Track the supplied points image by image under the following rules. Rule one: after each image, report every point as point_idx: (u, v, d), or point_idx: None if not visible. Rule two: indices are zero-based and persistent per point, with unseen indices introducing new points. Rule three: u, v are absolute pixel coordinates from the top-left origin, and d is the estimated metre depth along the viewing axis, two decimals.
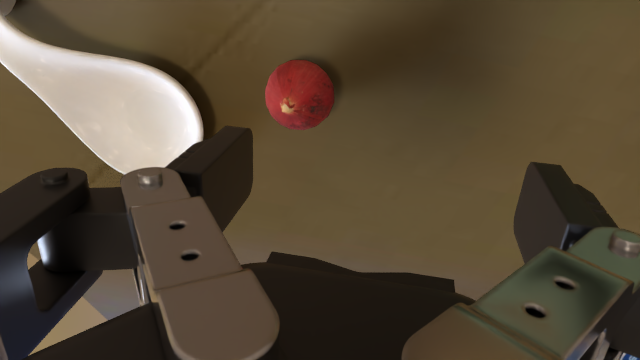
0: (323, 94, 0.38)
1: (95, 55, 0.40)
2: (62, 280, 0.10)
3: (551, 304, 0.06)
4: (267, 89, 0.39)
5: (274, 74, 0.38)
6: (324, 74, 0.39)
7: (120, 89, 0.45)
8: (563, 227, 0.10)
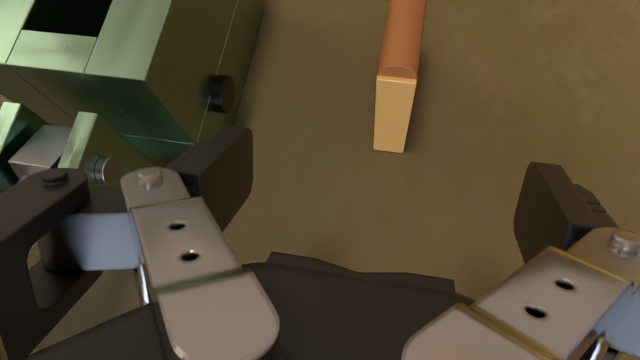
0: None
1: None
2: (62, 280, 0.10)
3: (551, 304, 0.06)
4: None
5: None
6: None
7: None
8: (563, 227, 0.10)
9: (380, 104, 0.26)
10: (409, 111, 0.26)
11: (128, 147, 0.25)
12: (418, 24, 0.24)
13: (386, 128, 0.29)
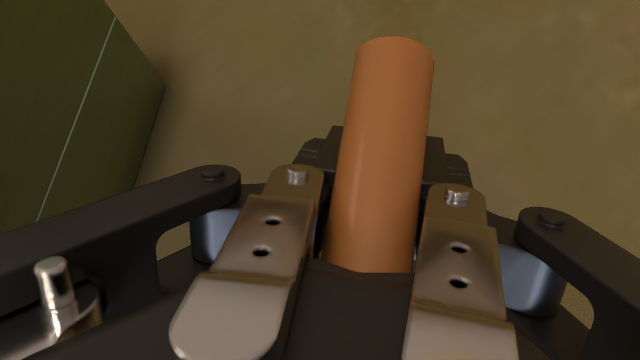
0: None
1: None
2: (196, 269, 0.11)
3: (464, 271, 0.07)
4: None
5: None
6: None
7: None
8: None
9: None
10: None
11: None
12: (406, 213, 0.10)
13: None
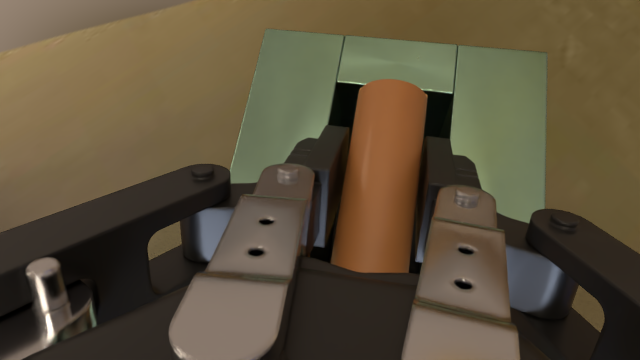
0: None
1: None
2: (188, 268, 0.11)
3: (469, 272, 0.07)
4: None
5: None
6: None
7: None
8: None
9: None
10: None
11: None
12: (401, 235, 0.12)
13: None
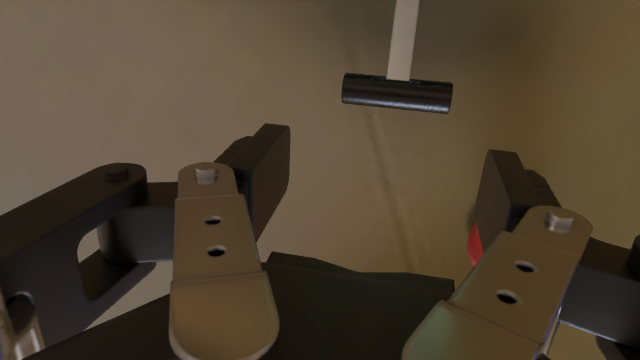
0: None
1: None
2: (114, 271, 0.10)
3: (519, 288, 0.07)
4: None
5: (474, 262, 0.34)
6: None
7: None
8: (508, 207, 0.11)
9: None
10: None
11: None
12: None
13: None
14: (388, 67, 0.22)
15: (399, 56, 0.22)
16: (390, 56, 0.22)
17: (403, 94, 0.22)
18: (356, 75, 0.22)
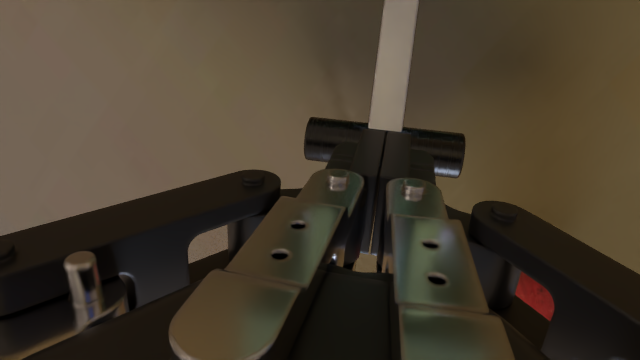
0: None
1: None
2: None
3: (440, 267, 0.07)
4: None
5: None
6: (525, 277, 0.26)
7: None
8: None
9: None
10: None
11: None
12: None
13: None
14: (371, 111, 0.15)
15: (387, 95, 0.15)
16: (374, 95, 0.15)
17: None
18: (325, 122, 0.15)
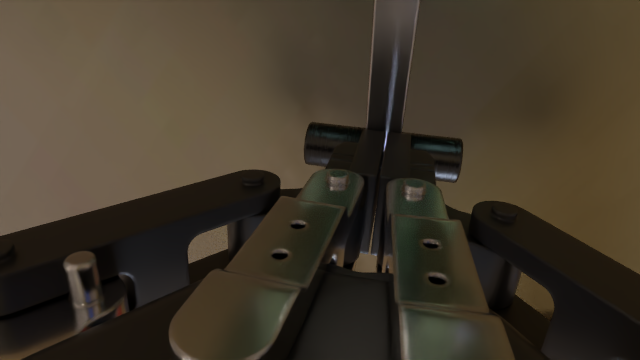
0: None
1: None
2: None
3: (440, 267, 0.07)
4: None
5: None
6: None
7: None
8: None
9: None
10: None
11: None
12: None
13: None
14: None
15: (382, 124, 0.14)
16: (368, 122, 0.14)
17: None
18: (321, 142, 0.15)
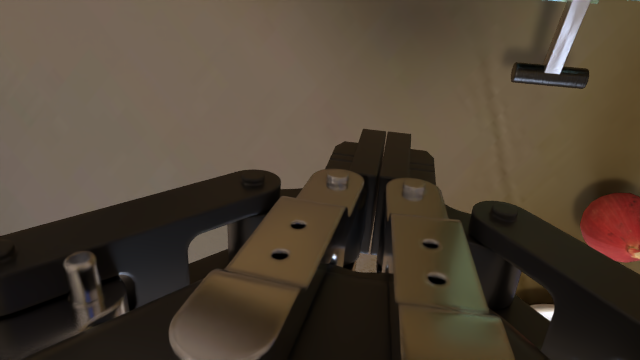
0: None
1: None
2: None
3: (440, 267, 0.07)
4: None
5: (590, 239, 0.40)
6: (619, 198, 0.39)
7: None
8: None
9: None
10: None
11: None
12: None
13: None
14: (547, 66, 0.34)
15: (556, 60, 0.33)
16: (550, 59, 0.33)
17: (554, 83, 0.34)
18: (524, 70, 0.34)
